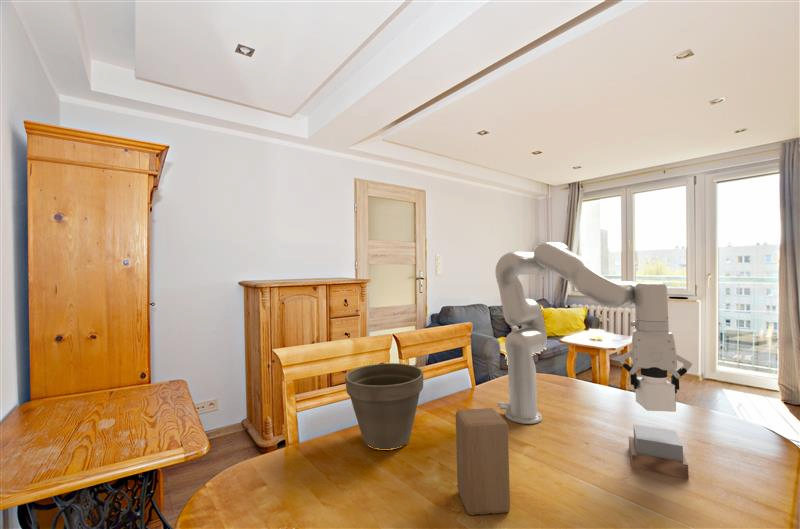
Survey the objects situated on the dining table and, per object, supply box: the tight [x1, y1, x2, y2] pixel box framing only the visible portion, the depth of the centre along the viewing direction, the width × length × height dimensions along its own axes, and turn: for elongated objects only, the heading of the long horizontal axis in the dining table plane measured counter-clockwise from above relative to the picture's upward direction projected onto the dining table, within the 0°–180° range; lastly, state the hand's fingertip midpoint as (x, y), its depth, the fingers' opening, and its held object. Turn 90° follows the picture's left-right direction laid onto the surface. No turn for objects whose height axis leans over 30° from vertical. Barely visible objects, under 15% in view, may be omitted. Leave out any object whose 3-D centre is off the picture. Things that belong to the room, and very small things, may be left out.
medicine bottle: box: [634, 367, 677, 413], centre depth 102 cm, size 7×7×12 cm
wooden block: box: [455, 407, 511, 516], centre depth 86 cm, size 10×10×20 cm
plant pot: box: [344, 362, 424, 449], centre depth 118 cm, size 25×25×22 cm
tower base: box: [628, 436, 690, 479], centre depth 101 cm, size 12×12×4 cm
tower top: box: [632, 424, 684, 462], centre depth 101 cm, size 10×10×4 cm
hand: (654, 389), depth 102 cm, fingers closed on medicine bottle, 8 cm apart
